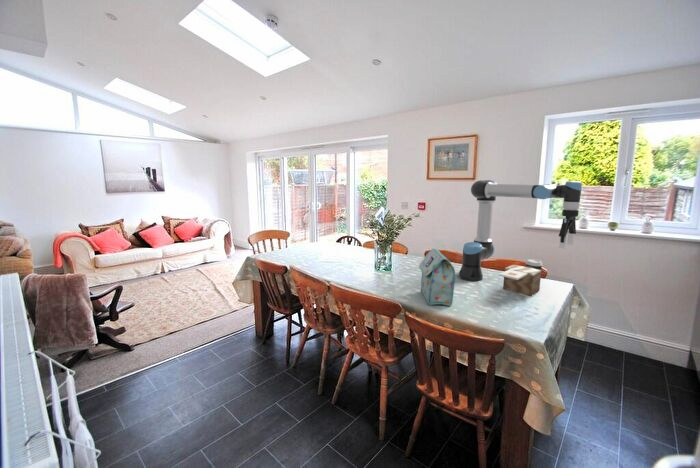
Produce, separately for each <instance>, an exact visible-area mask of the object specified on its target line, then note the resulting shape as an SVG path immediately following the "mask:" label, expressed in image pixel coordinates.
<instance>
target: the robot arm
mask: <svg viewBox="0 0 700 468" xmlns="http://www.w3.org/2000/svg"><path fill="white" fill-rule="evenodd" d="M582 187H583V183H582V181H577V180H576V181H575V180H574V181H573V180H571V181H570V180H569V181H568V180H567V181H565V184H550V183H549V184H514V183H513V184H512V183H511V184H505V183H504V184H503V183H501V184H500V183H497V182H496V181H494V180H491V179H488V180H487V179H485V180H477V181H475V182H473V183H472V184H471V187H470V193H471V195H472V196H473V197H475V198H476V201H477V202H478V212H477V215H478V216H477V226H476V227H477V228H476V237H475V238H473V241H471V242H466V243H465V244H464V245H463V248H462V261H461V262H462V263H461V264H462V265H461V268H460V270H459V272H458V278H460V279H462V280H464V281H471V282H478V281H479V282H480V281H482V280H483V277H484V275H483V271H482V268H481V267H482V266H481V265H482V261H483V260H487V259H489V258H491V257H492V256H493V255H494V253H495V246H494V245H493V240H492V238H491V232H492V231H491V229H492V218H493V217H492V216H493V205H494V203H495V202H496V198H497V197H499V198H517V199H518V198H521V199H522V198H523V199H526V198H527V199H538V200H546V199H556V198H557V199H563V202H562V210H561V216H563V217H565V218H563V219H562V223H561V227H560V230H559V232H558V233H559V234H558V237H559V244H558V248H559V249H564V250H565V249H566V245H568V246H569V245H571V246H574V238H575V235H576V234H577V230H576V228H577V226H576V220H577V217H578V216H579V209H580V206H581V205H582V204H581V203H580V202H581V197H582V196H581V195H582Z"/></svg>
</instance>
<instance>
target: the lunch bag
mask: <svg viewBox="0 0 700 468" xmlns="http://www.w3.org/2000/svg"><path fill="white" fill-rule="evenodd" d="M418 268H419V270H420V271H421V281H420V291H421V293H422V295H423V297H424V298H425V300H426V302H427V304H428V305H430V306H431V305H432V306H433V305H444V306H448V307H449V306H452V305H453V302H454V301H453V300H454V290H455V283H456V282H455V281H456V270H455V267H454V266H453V264H452V262H451V261H450V260H449V259H448V258H447V257H446V256H445V255H444V254H443V253H441V251H440V250H439V249H436V248H431V250H429V251H428V253H427V254H426V255H425V256H424V258H423V259H422V260H421V261H420V263H419V266H418Z"/></svg>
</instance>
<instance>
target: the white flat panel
mask: <svg viewBox="0 0 700 468" xmlns="http://www.w3.org/2000/svg"><path fill="white" fill-rule="evenodd" d="M498 275H499V276H500V277H503V278H504V277H507V278H512V279H516V280H518V279H520V278H522V277H524V276H526V275H527V273H523V272H519V271H514V270H507V271H505V270H504V271H503V272H500V273H498Z"/></svg>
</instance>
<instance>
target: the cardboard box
mask: <svg viewBox="0 0 700 468" xmlns="http://www.w3.org/2000/svg"><path fill="white" fill-rule="evenodd" d="M507 270H514V271H519V272H523V273H527V275H526V276H524V277H522V278H520V279H518V280H516V279H512V278H507V277H503V285H502V289H504V290H507V291H510V292H515V293H518V294H522V295H526V296H529V297H533V296H534V295H535V294H537V293H539V292H540V287H541V278H542V269H541V270H538V269H533V268H528V267H526V266H522V265H517V264H512V265H509V266H507V267H505V268H504V272H505V271H507Z"/></svg>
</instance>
